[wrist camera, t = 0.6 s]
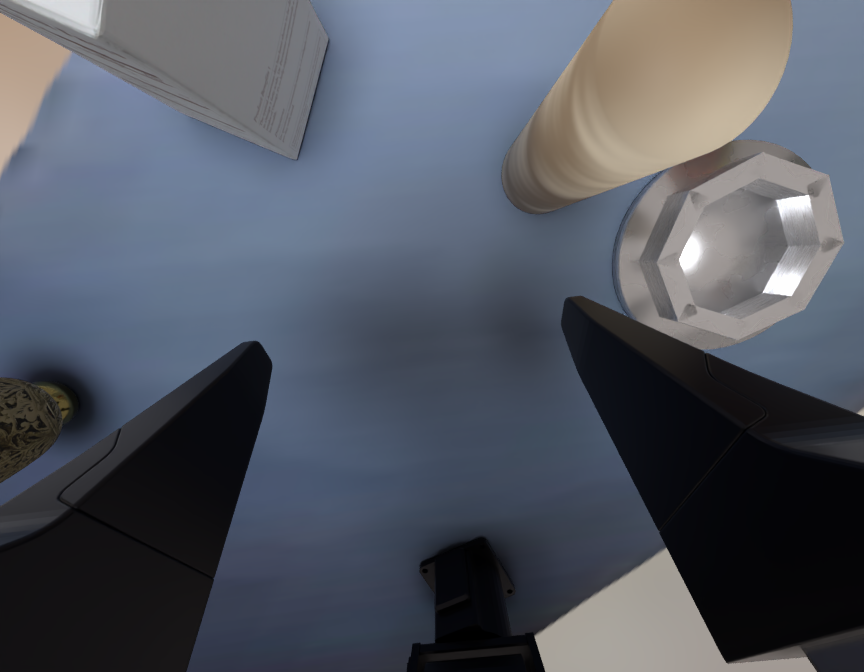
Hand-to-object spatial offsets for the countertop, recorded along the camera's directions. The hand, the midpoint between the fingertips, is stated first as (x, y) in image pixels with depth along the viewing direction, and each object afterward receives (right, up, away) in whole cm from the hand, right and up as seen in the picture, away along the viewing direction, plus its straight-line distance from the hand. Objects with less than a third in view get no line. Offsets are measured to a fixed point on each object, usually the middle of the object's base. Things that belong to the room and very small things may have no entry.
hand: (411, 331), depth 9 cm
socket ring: (+19, +5, +12) cm, 24 cm away
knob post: (+8, +10, +11) cm, 17 cm away
